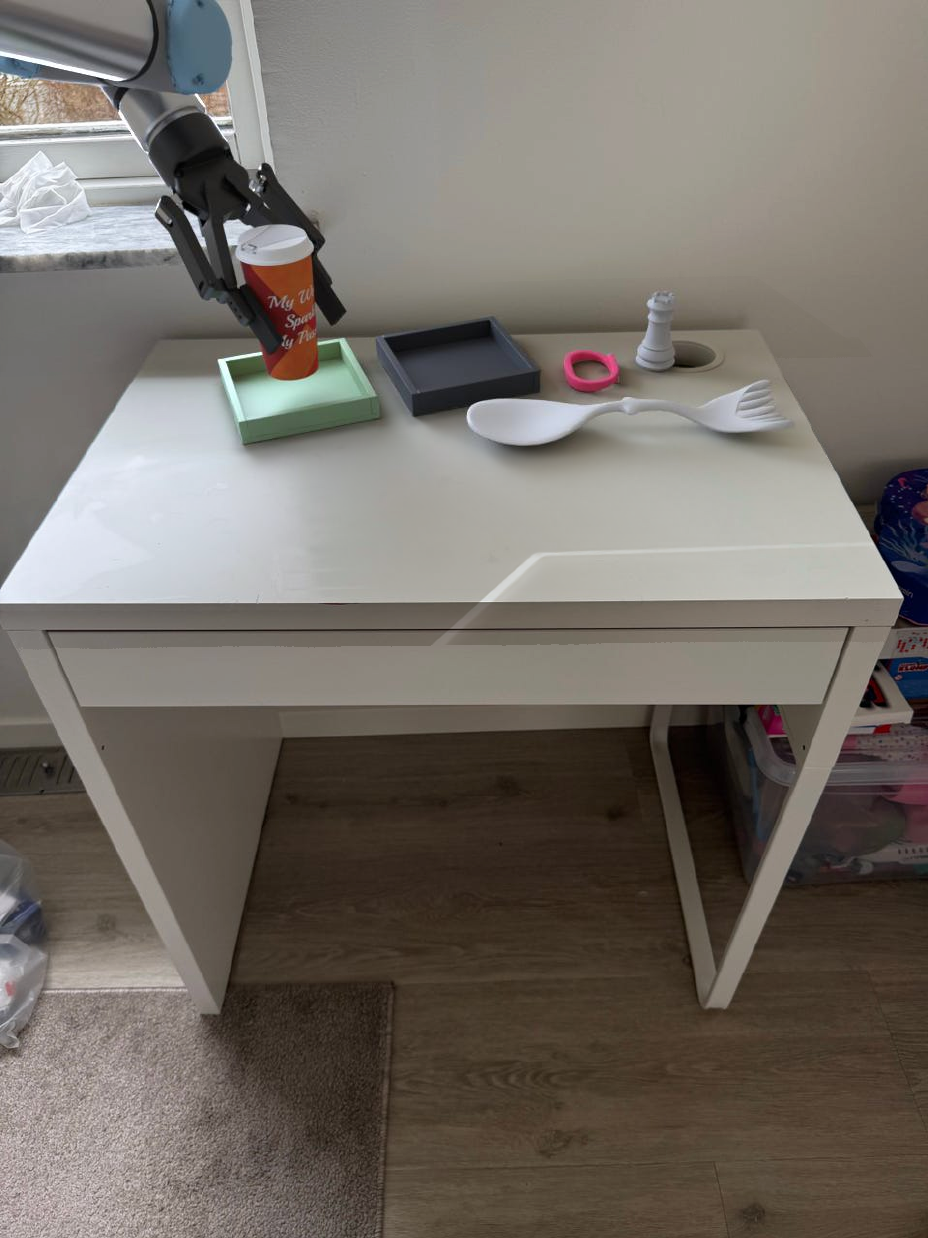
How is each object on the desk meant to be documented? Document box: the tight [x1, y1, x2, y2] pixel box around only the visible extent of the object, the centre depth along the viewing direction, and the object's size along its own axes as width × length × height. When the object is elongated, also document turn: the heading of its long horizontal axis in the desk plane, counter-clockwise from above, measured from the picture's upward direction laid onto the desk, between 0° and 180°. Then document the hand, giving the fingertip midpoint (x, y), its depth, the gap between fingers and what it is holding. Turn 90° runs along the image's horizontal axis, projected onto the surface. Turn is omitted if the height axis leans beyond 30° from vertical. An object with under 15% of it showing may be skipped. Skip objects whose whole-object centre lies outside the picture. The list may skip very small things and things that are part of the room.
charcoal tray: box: [375, 315, 542, 417], centre depth 106 cm, size 15×15×3 cm
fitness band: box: [563, 349, 620, 392], centre depth 106 cm, size 8×6×2 cm
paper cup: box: [234, 225, 319, 381], centre depth 97 cm, size 8×8×14 cm
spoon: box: [466, 379, 794, 447], centre depth 96 cm, size 9×32×4 cm, turn 91°
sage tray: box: [217, 337, 381, 445], centre depth 103 cm, size 15×15×3 cm
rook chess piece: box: [635, 290, 678, 372], centre depth 105 cm, size 4×4×8 cm
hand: (308, 332), depth 96 cm, fingers closed on paper cup, 8 cm apart
